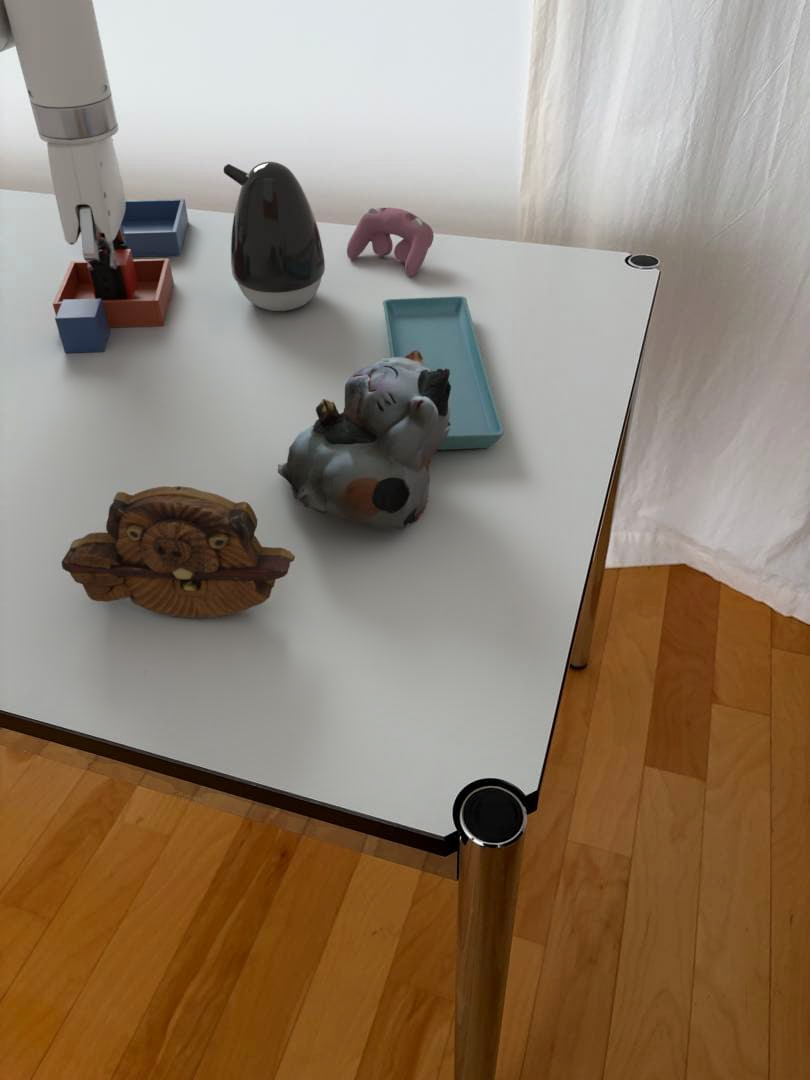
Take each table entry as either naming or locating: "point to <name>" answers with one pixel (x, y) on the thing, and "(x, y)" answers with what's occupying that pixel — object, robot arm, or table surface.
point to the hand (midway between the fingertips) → (116, 289)
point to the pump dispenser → (274, 239)
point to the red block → (125, 271)
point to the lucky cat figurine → (374, 444)
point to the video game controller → (378, 231)
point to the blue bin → (155, 227)
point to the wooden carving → (178, 554)
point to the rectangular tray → (448, 363)
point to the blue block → (82, 325)
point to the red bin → (125, 313)
